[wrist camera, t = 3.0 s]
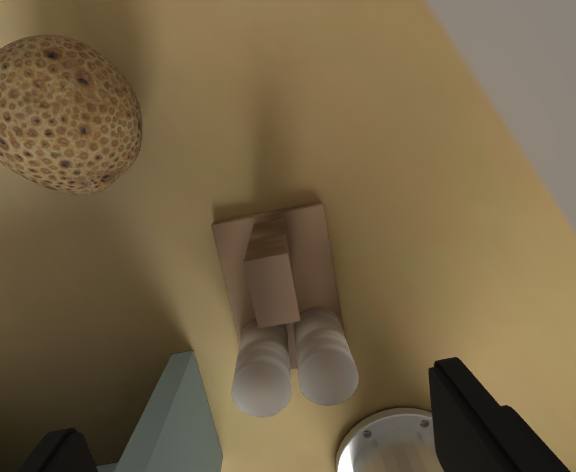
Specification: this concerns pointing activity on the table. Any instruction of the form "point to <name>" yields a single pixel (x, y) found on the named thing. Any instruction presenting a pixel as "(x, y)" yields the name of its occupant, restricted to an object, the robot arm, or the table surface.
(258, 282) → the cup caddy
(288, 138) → the table surface
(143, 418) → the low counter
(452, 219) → the table surface
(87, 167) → the natural sponge
